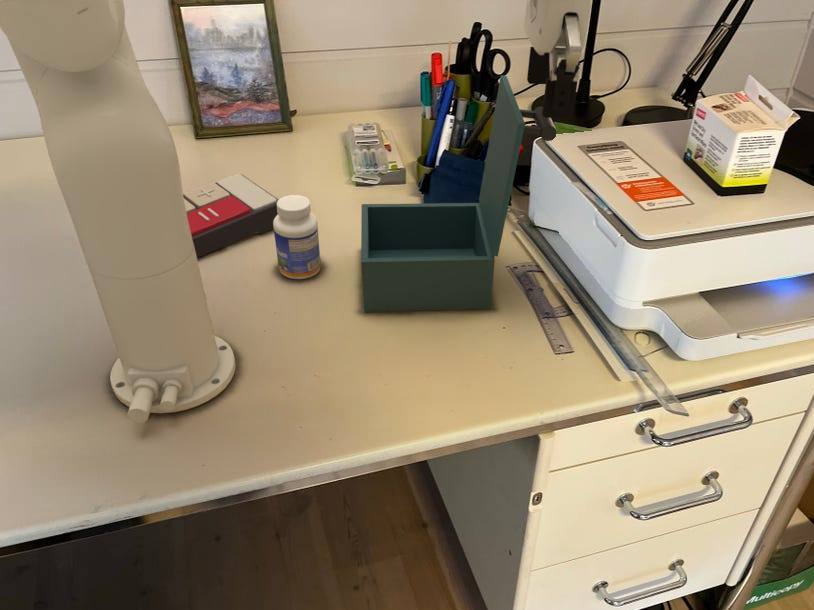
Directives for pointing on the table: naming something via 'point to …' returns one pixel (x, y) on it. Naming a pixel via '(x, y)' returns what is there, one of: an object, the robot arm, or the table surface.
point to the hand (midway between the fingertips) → (548, 99)
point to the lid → (506, 158)
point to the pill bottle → (296, 238)
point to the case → (425, 257)
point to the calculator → (228, 212)
